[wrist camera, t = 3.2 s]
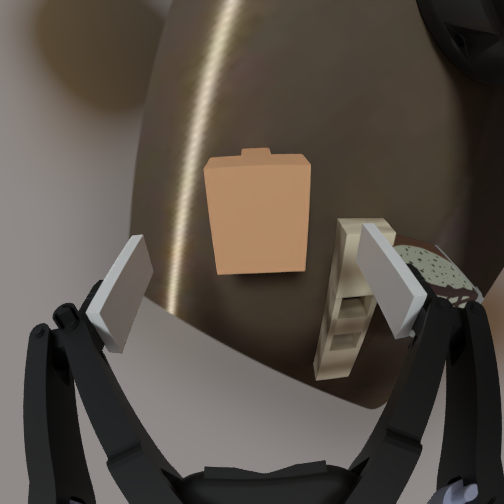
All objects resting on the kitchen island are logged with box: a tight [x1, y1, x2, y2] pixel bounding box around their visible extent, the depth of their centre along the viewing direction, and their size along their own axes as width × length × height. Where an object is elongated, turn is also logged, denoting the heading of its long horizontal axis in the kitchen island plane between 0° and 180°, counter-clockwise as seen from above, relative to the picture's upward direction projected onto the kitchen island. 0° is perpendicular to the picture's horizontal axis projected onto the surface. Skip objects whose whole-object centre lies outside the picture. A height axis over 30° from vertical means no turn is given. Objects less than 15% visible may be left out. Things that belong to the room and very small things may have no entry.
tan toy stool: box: [204, 148, 311, 275], centre depth 21 cm, size 8×6×6 cm
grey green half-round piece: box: [392, 234, 484, 337], centre depth 24 cm, size 12×6×10 cm, turn 78°
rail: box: [313, 218, 396, 380], centre depth 30 cm, size 24×5×3 cm, turn 3°
